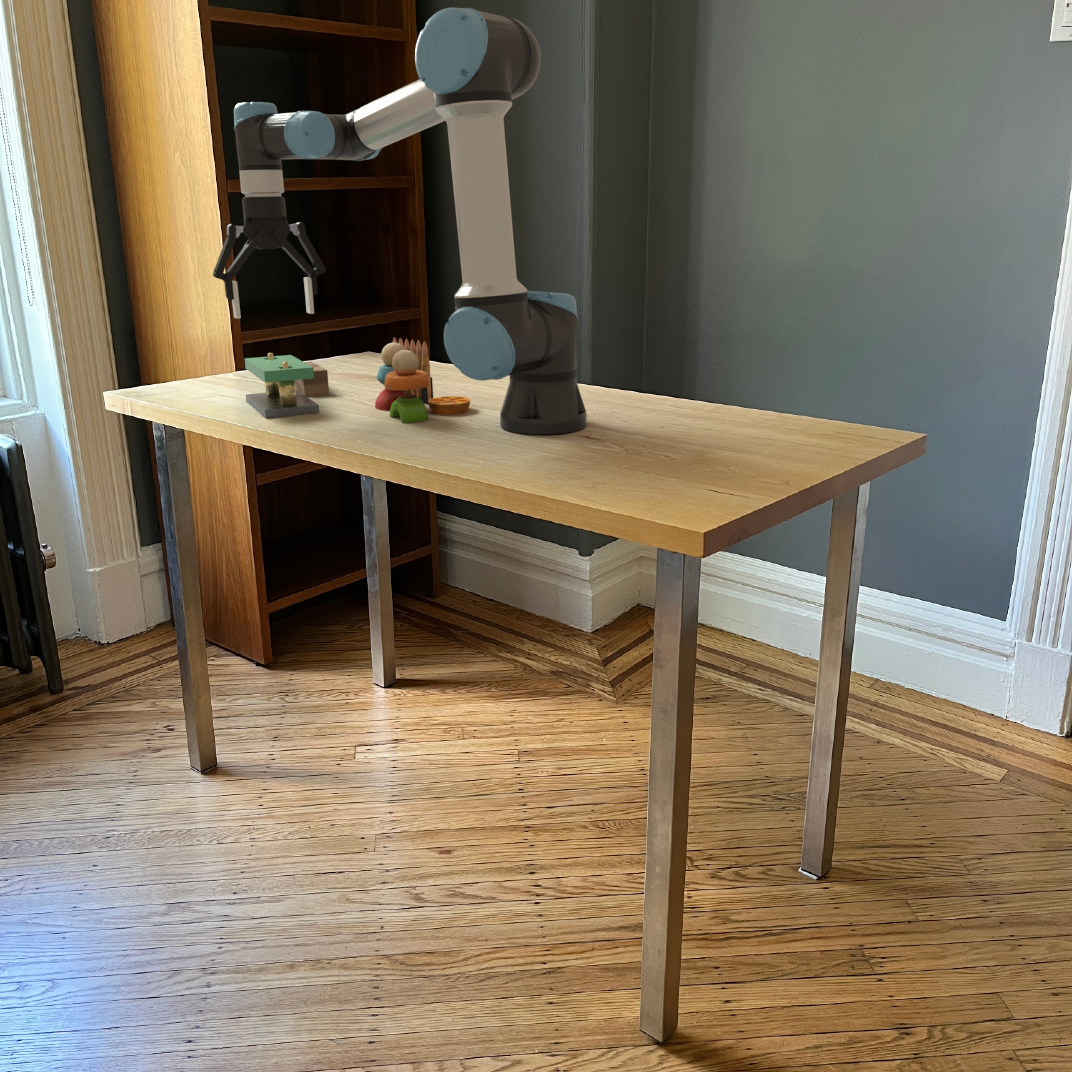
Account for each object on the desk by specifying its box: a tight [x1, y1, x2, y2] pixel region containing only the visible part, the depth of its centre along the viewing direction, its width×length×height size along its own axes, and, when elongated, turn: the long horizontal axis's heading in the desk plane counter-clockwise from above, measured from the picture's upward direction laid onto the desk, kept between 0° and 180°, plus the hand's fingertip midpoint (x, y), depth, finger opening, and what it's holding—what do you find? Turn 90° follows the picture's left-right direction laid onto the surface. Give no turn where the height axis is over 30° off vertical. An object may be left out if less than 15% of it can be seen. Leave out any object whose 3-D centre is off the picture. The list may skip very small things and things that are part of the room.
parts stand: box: [295, 361, 330, 397], centre depth 215 cm, size 12×5×5 cm, turn 26°
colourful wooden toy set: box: [374, 342, 471, 424], centre depth 194 cm, size 18×17×12 cm
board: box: [244, 354, 314, 383], centre depth 198 cm, size 17×9×2 cm, turn 26°
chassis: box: [245, 352, 320, 419], centre depth 199 cm, size 17×10×10 cm, turn 26°
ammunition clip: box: [392, 337, 434, 405], centre depth 203 cm, size 11×2×12 cm, turn 48°
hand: (274, 315), depth 194 cm, fingers open, 13 cm apart
